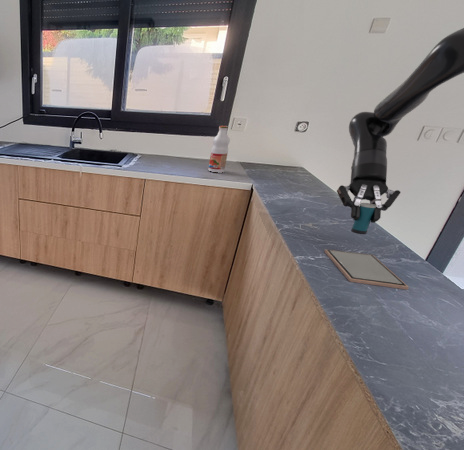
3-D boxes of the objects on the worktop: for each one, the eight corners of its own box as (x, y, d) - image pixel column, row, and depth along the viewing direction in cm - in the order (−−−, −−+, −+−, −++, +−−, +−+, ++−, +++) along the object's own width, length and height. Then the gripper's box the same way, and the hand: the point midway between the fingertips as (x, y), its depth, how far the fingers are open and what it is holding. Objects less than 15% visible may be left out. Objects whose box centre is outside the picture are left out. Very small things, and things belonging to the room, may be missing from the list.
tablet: (371, 257, 94) (373, 254, 94) (407, 289, 79) (409, 286, 78) (324, 251, 98) (325, 248, 98) (349, 281, 83) (350, 278, 82)
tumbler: (362, 231, 91) (372, 203, 88) (368, 235, 88) (378, 206, 85) (348, 229, 92) (358, 202, 89) (354, 233, 89) (363, 205, 86)
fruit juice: (226, 173, 193) (235, 126, 182) (210, 173, 194) (218, 126, 183) (220, 169, 202) (228, 125, 191) (205, 170, 203) (212, 125, 192)
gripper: (342, 159, 92) (337, 210, 88) (408, 163, 86) (407, 218, 81) (334, 173, 99) (329, 221, 94) (394, 178, 92) (392, 230, 87)
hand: (365, 220), depth 87 cm, fingers closed on tumbler, 3 cm apart
